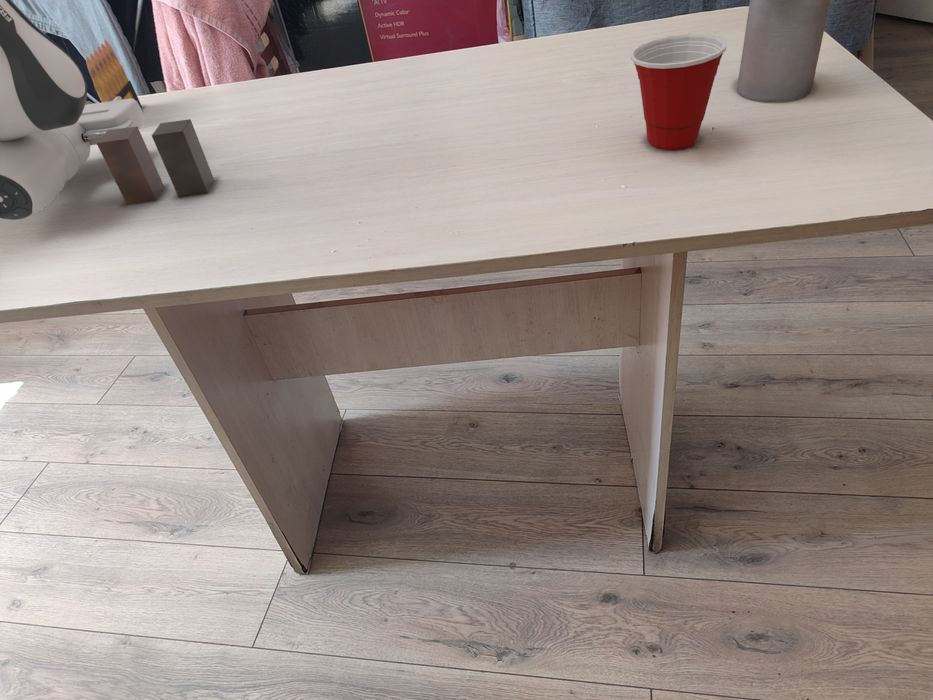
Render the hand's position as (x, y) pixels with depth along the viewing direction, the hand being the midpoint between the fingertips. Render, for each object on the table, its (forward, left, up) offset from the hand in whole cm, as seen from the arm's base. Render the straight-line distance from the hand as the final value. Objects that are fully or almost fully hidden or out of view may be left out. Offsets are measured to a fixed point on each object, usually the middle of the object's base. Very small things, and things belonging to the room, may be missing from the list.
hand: (88, 105), depth 103 cm
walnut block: (+12, -20, -7) cm, 25 cm away
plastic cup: (+82, -25, -7) cm, 86 cm away
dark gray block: (+19, -20, -7) cm, 29 cm away
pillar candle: (+100, -13, -7) cm, 101 cm away
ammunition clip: (0, +11, -7) cm, 13 cm away
